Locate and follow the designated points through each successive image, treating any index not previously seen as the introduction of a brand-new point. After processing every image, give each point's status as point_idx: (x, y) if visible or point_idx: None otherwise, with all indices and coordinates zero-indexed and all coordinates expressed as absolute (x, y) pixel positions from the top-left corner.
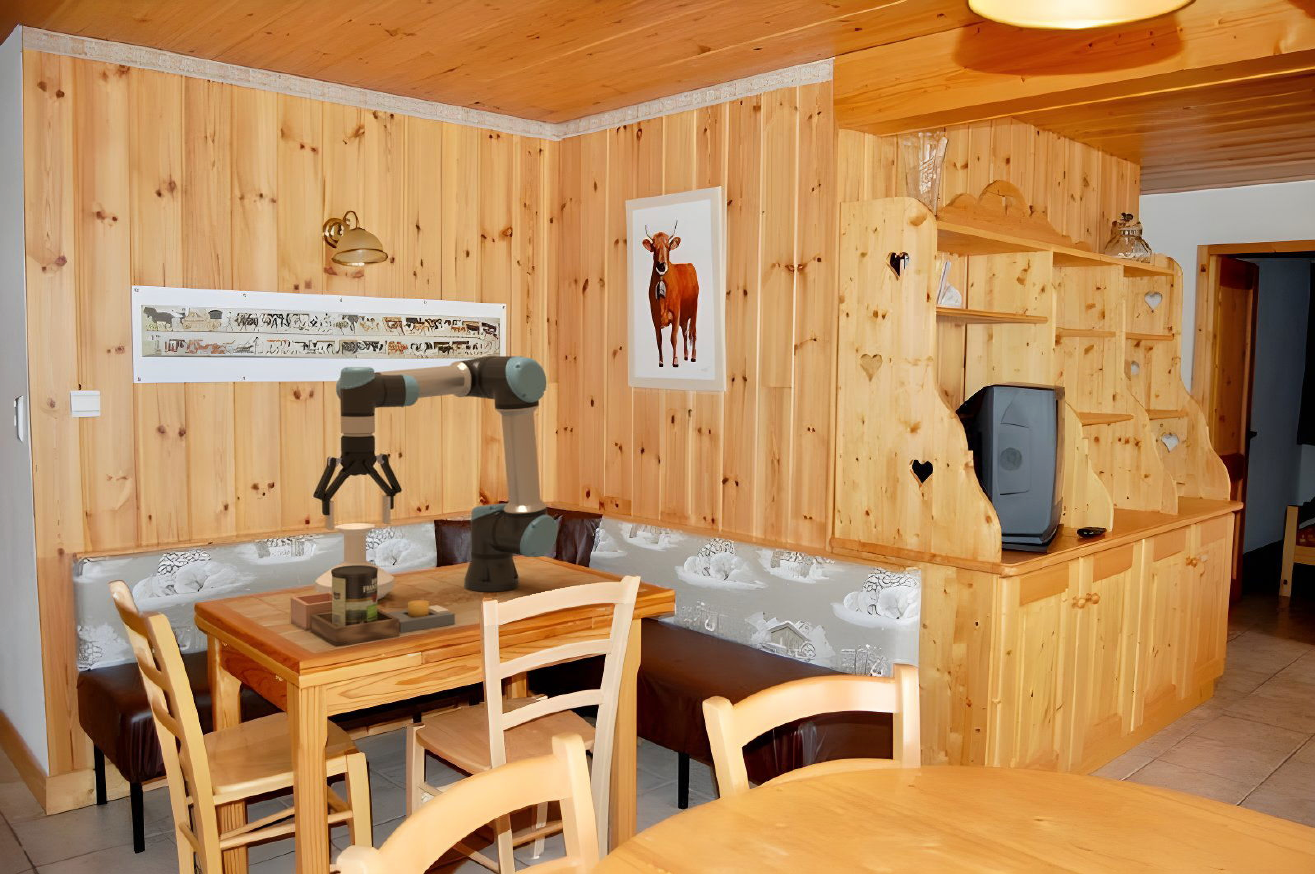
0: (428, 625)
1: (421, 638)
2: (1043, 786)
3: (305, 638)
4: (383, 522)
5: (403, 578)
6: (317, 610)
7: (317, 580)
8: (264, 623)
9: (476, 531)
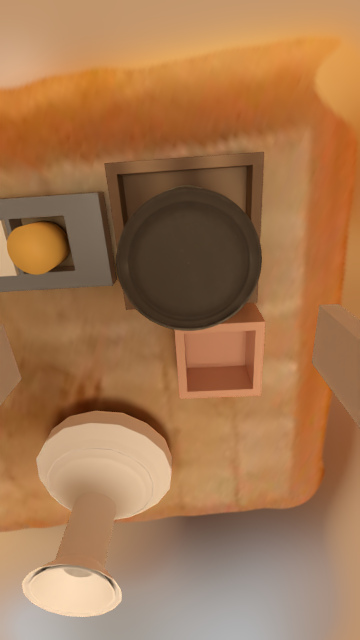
0: (37, 196)
1: (73, 117)
2: None
3: (276, 251)
4: (16, 372)
5: (13, 512)
6: (237, 317)
7: (167, 486)
8: (289, 377)
9: None
